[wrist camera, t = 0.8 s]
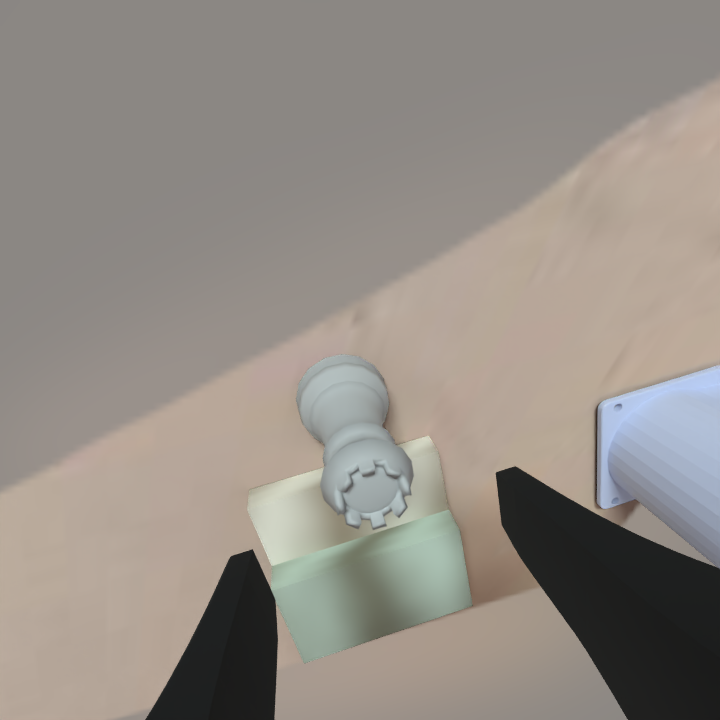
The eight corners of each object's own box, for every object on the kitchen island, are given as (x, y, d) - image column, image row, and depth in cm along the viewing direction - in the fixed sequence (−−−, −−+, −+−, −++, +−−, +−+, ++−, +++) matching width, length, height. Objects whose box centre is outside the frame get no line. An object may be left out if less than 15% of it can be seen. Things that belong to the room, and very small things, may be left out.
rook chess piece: (382, 428, 21) (434, 544, 14) (297, 434, 21) (305, 561, 13) (385, 348, 20) (446, 433, 13) (293, 352, 19) (300, 445, 12)
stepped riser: (428, 435, 22) (449, 468, 19) (452, 563, 26) (472, 605, 23) (249, 489, 21) (244, 532, 19) (301, 613, 25) (304, 663, 22)
